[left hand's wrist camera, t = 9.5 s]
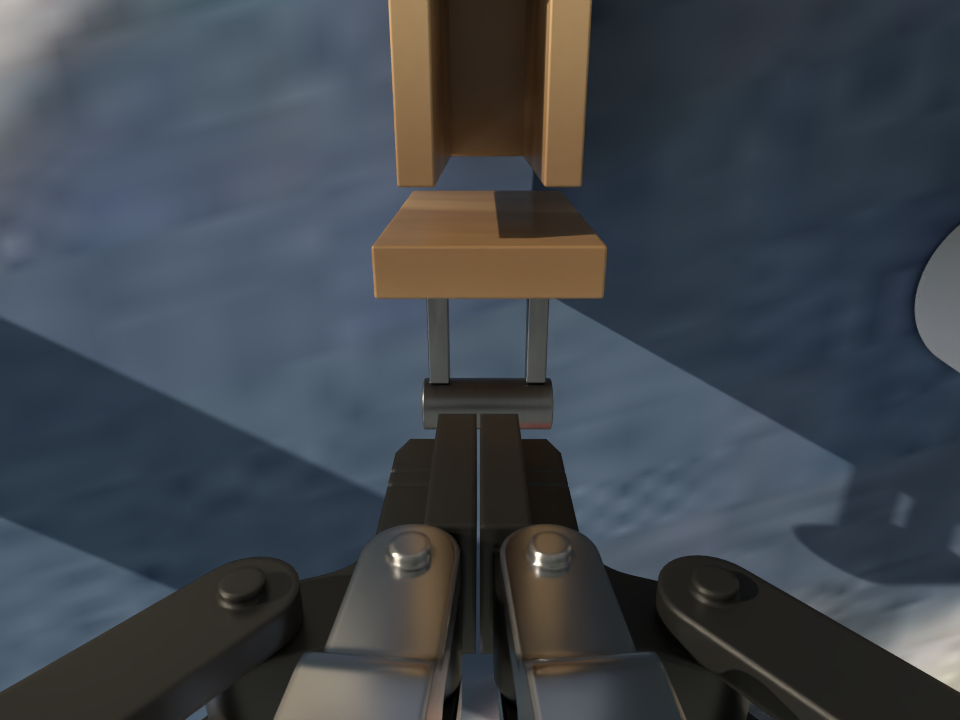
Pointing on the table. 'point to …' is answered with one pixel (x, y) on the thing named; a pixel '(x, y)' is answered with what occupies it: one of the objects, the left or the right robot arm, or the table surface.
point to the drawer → (489, 214)
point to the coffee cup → (941, 302)
